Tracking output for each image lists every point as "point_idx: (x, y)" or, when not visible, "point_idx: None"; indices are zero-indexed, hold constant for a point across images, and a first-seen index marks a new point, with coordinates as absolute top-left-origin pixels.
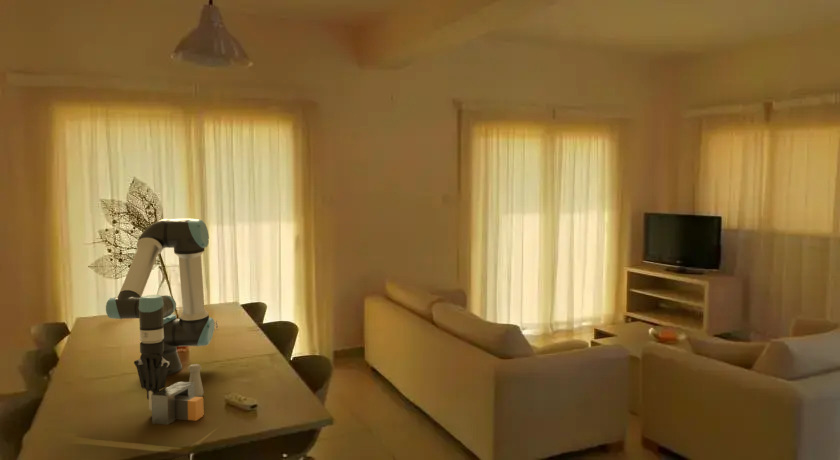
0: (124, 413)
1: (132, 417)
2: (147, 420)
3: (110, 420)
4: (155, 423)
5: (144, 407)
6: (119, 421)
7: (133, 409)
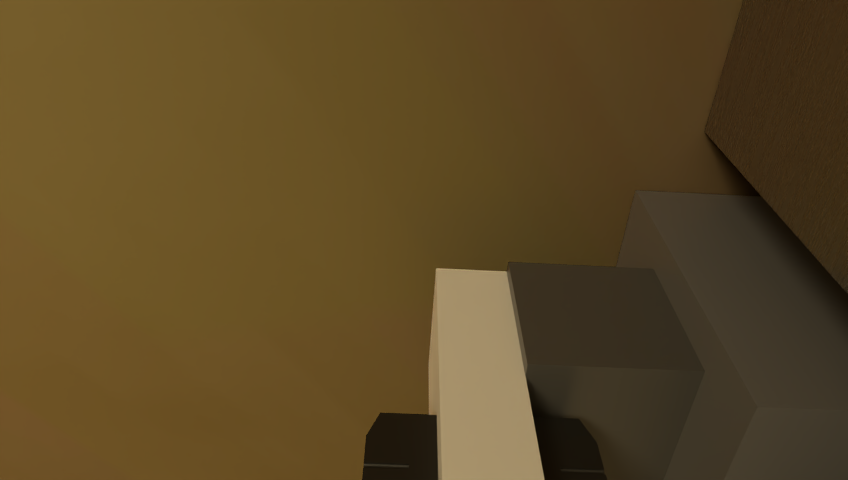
0: (37, 293)
1: (261, 381)
2: None
3: (97, 470)
4: None
5: (90, 24)
6: (216, 477)
7: (3, 141)
